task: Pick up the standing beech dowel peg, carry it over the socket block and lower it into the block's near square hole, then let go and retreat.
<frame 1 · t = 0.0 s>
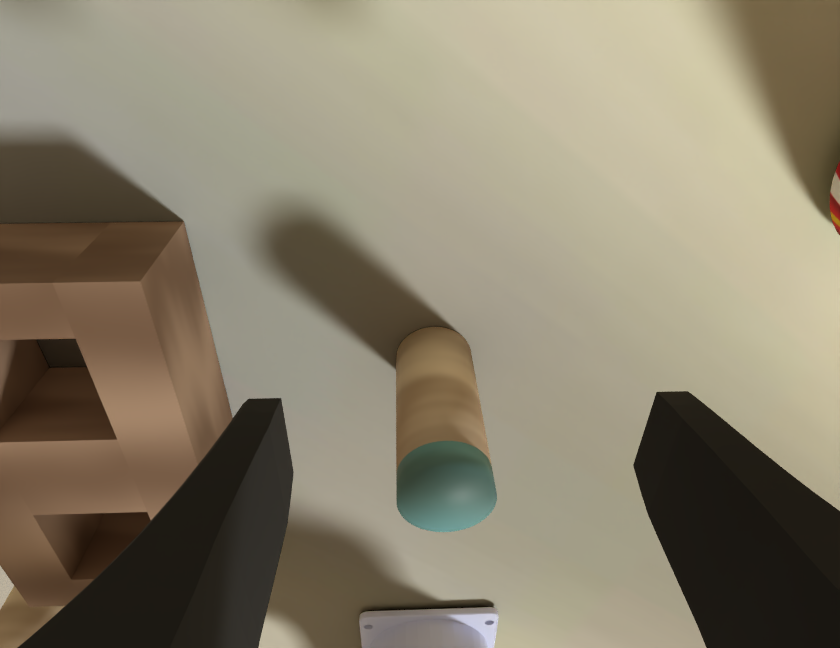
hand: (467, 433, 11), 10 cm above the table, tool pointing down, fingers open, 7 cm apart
peg: (433, 357, 23), on the table
socket block: (117, 402, 24), on the table
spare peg: (62, 564, 30), on the table
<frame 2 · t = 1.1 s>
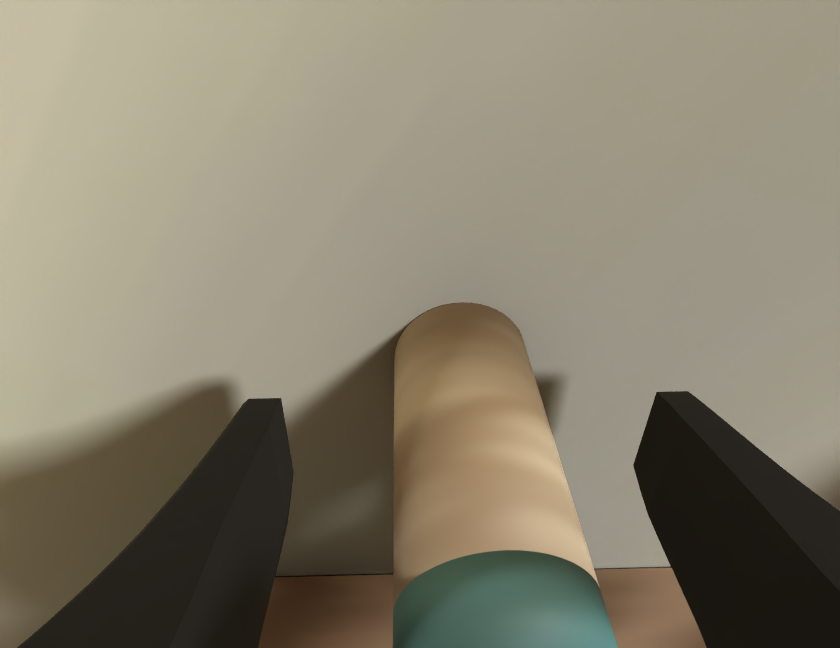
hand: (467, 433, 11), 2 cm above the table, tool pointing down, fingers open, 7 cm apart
peg: (459, 357, 13), on the table
socket block: (497, 644, 21), on the table
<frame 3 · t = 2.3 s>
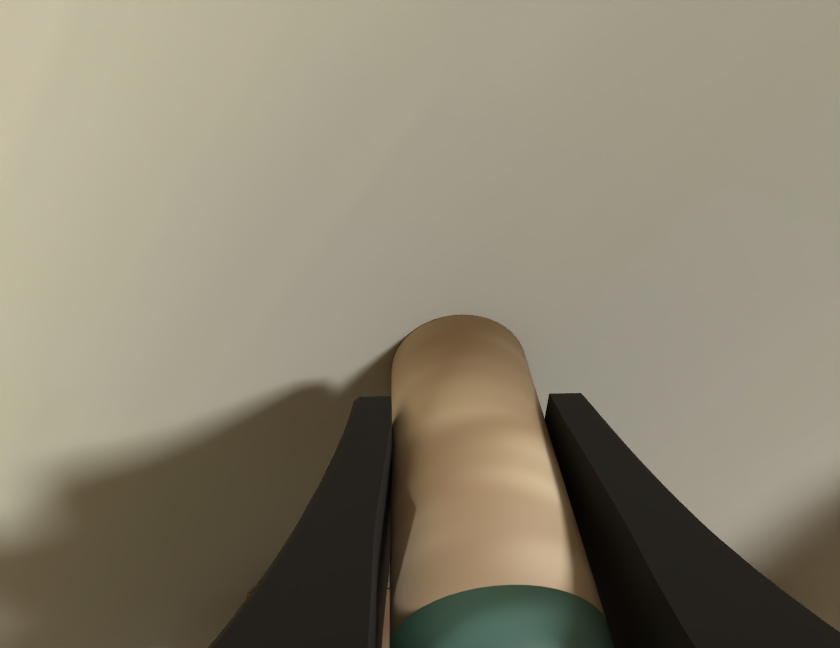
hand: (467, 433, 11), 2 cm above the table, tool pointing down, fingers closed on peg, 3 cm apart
peg: (458, 370, 13), on the table, touching gripper
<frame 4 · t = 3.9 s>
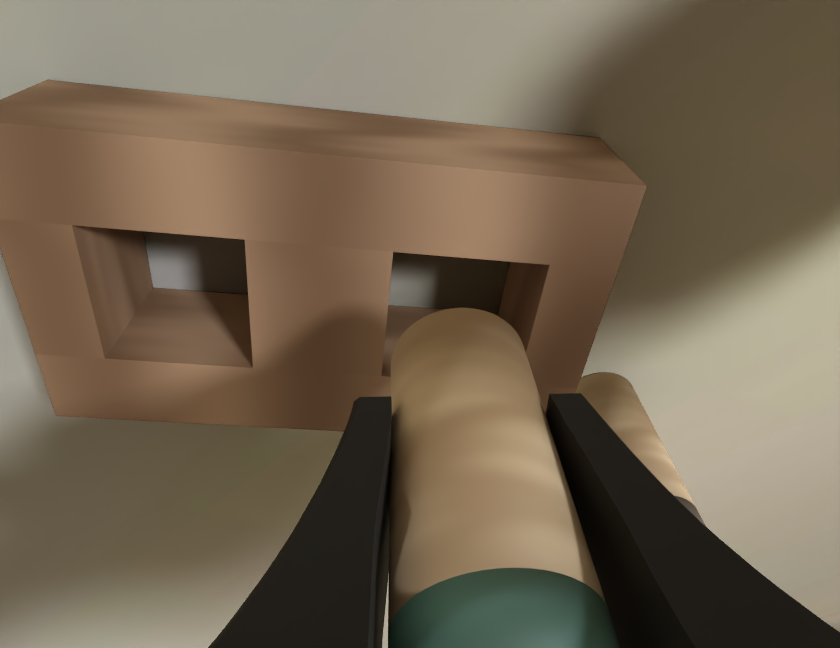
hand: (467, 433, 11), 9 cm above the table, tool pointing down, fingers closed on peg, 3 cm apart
peg: (458, 364, 13), point 7 cm above the table, touching gripper
socket block: (331, 248, 19), on the table
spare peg: (597, 400, 24), on the table
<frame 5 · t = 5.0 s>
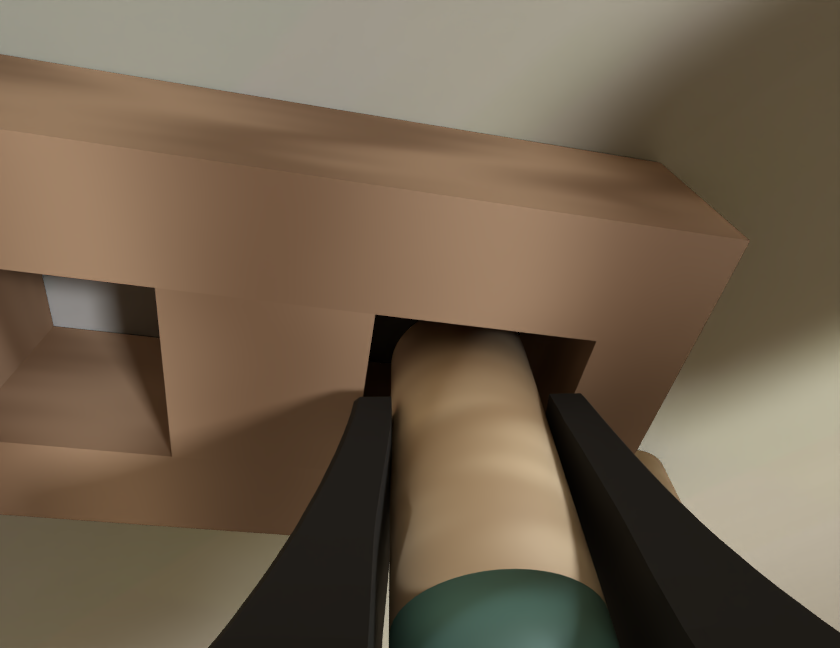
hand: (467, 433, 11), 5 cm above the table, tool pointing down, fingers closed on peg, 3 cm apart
peg: (458, 365, 13), point 3 cm above the table, touching gripper
socket block: (294, 287, 15), on the table
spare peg: (618, 480, 19), on the table
when the fingers open (5 cm above the table, at t = 5.6 s): peg drops 3 cm, resting in socket block.
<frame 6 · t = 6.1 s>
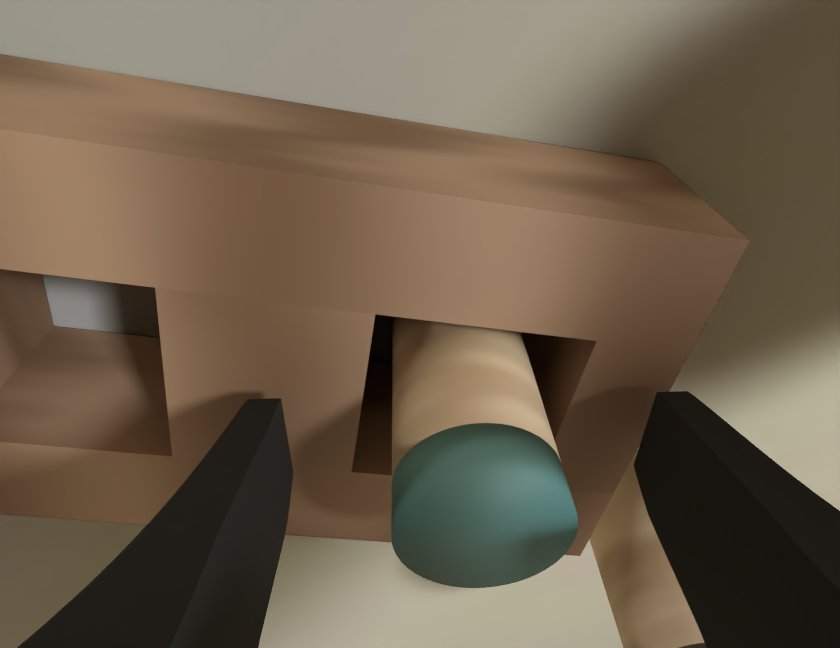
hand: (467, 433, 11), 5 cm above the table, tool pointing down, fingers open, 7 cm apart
peg: (450, 302, 15), resting in socket block
socket block: (294, 286, 15), on the table
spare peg: (618, 481, 19), on the table
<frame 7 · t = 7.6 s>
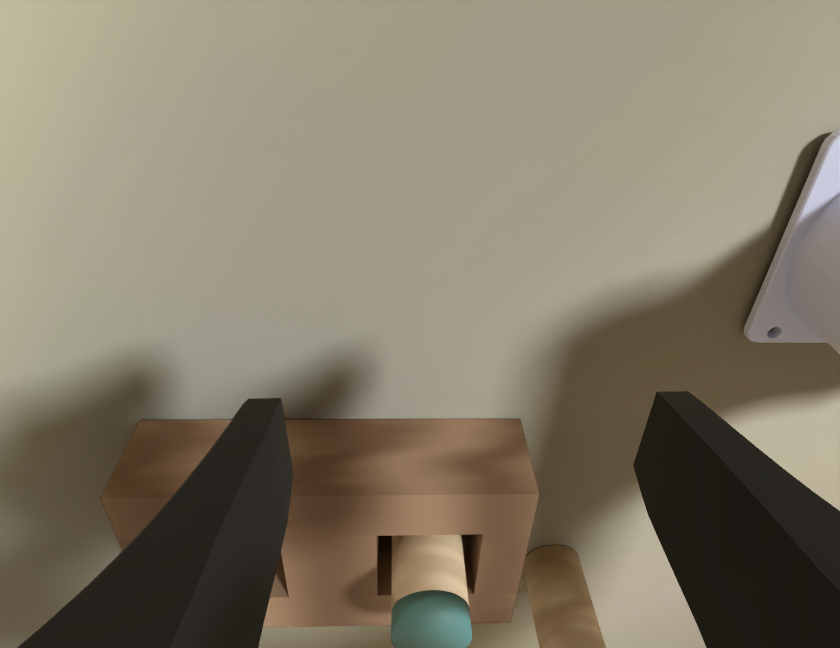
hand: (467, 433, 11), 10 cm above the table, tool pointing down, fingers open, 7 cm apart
peg: (424, 487, 27), resting in socket block
socket block: (338, 489, 27), on the table
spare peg: (550, 562, 31), on the table
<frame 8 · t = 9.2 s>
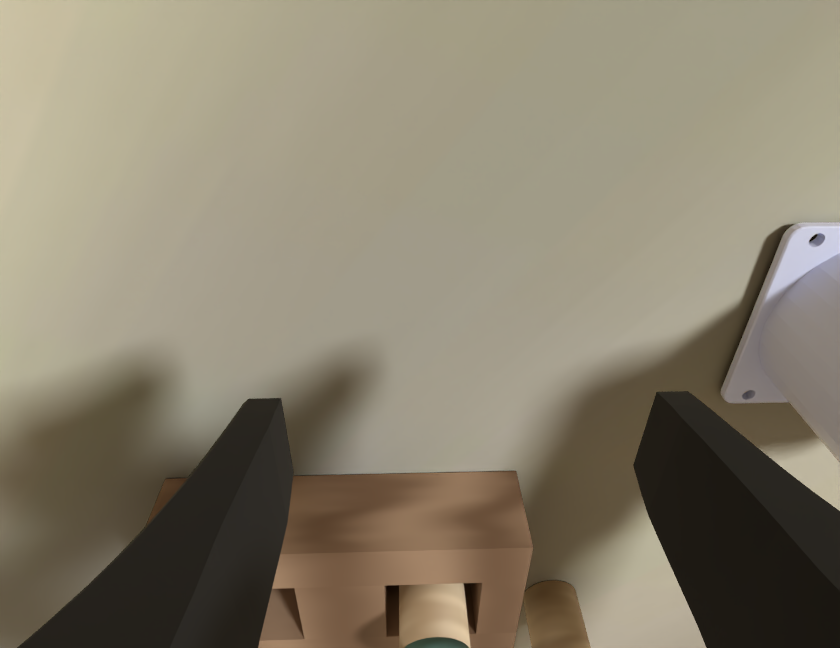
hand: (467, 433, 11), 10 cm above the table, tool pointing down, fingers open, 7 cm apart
peg: (428, 531, 29), resting in socket block
socket block: (348, 535, 29), on the table
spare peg: (549, 595, 33), on the table
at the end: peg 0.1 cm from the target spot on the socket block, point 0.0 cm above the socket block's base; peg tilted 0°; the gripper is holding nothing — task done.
